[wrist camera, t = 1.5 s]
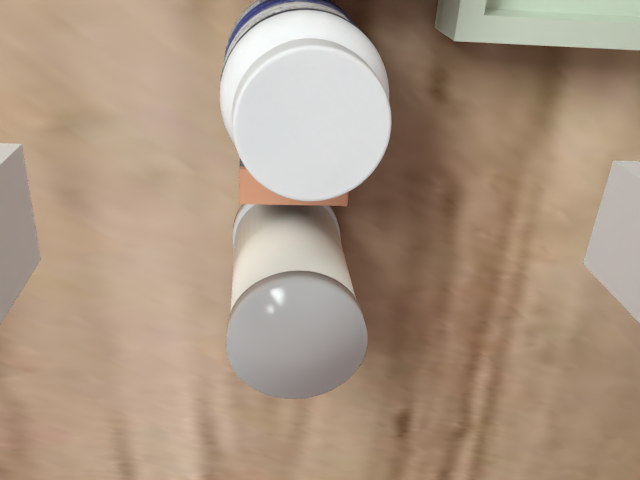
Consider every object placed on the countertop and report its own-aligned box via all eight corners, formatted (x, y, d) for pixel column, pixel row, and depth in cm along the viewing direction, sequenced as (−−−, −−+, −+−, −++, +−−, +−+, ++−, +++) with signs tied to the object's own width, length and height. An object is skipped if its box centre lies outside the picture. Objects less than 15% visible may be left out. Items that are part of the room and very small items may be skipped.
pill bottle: (356, 120, 28) (402, 216, 19) (230, 123, 28) (219, 223, 19) (361, -16, 25) (417, 25, 17) (221, -15, 25) (203, 28, 16)
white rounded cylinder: (232, 182, 29) (225, 285, 21) (342, 184, 30) (375, 285, 22) (233, 276, 31) (226, 400, 23) (334, 276, 32) (360, 397, 24)
